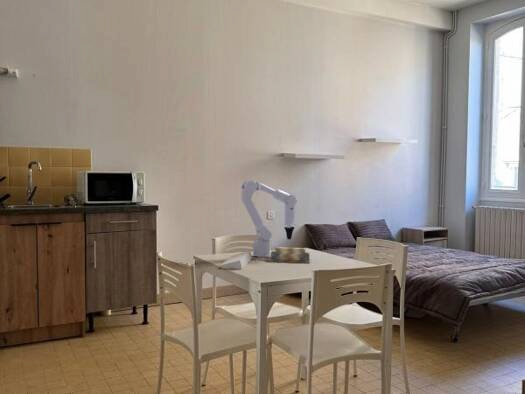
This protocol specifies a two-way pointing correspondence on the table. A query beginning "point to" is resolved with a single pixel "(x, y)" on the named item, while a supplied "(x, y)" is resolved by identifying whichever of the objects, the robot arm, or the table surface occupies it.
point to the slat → (290, 253)
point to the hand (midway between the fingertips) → (289, 239)
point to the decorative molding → (237, 261)
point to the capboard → (276, 258)
